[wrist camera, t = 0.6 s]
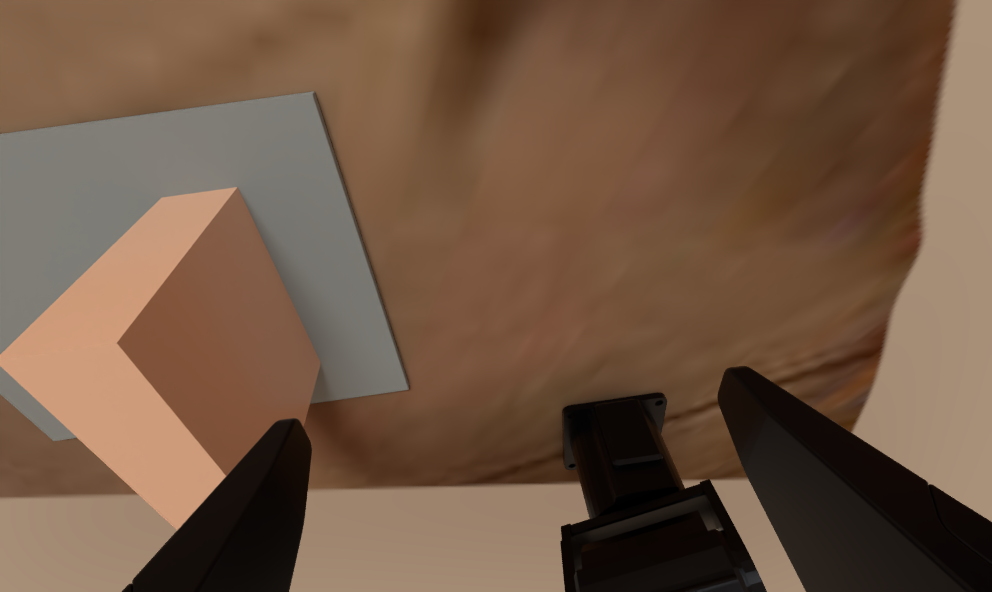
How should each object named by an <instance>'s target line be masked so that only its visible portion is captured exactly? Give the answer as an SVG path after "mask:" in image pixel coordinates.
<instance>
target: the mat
mask: <svg viewBox="0 0 992 592" xmlns="http://www.w3.org/2000/svg"><path fill="white" fill-rule="evenodd" d="M235 187H238V189H239V191H240V193H241V196H242V198H243V200H244V202H245V204H246V206H247V208H248V210H249V212H250V215H251V217H252V219H253V221H254V223H255V225H256V227H257V229H258V231H259V234H260V236H261V238H262V240H263V242H264V244H265V246H266V248H267V250H268V253H269V255H270V257H271V259H272V261H273V263H274V265H275V267H276V269H277V271H278V274H279V276H280V278H281V280H282V282H283V284H284V286H285V288H286V290H287V293H288V295H289V297H290V299H291V301H292V303H293V305H294V307H295V309H296V312H297V314H298V316H299V318H300V320H301V322H302V324H303V326H304V328H305V331H306V333H307V335H308V337H309V339H310V341H311V343H312V345H313V347H314V350H315V352H316V354H317V356H318V358H319V360H320V362H321V364H320V368H319V372H318V375H317V379H316V383H315V386H314V390H313V394H312V398H311V401H310V404H313V403H320V402H327V401H334V400H341V399H348V398H354V397H361V396H368V395H375V394H382V393H389V392H396V391H403V390H409V382H408V379H407V376H406V373H405V370H404V367H403V364H402V361H401V358H400V355H399V351H398V348H397V345H396V342H395V339H394V336H393V333H392V330H391V327H390V324H389V320H388V317H387V314H386V311H385V308H384V305H383V302H382V299H381V296H380V293H379V289H378V286H377V283H376V280H375V277H374V274H373V271H372V268H371V265H370V262H369V259H368V255H367V252H366V249H365V246H364V243H363V240H362V237H361V234H360V231H359V228H358V224H357V221H356V218H355V215H354V212H353V209H352V206H351V203H350V200H349V197H348V193H347V190H346V187H345V184H344V181H343V178H342V175H341V172H340V169H339V166H338V162H337V159H336V156H335V153H334V150H333V147H332V144H331V141H330V138H329V135H328V131H327V128H326V125H325V122H324V119H323V116H322V113H321V110H320V107H319V104H318V101H317V97H316V94H315V91H314V92H306V93H299V94H291V95H284V96H277V97H269V98H262V99H255V100H247V101H240V102H233V103H225V104H218V105H211V106H203V107H196V108H189V109H181V110H174V111H166V112H159V113H152V114H144V115H137V116H130V117H122V118H115V119H108V120H100V121H93V122H86V123H78V124H71V125H64V126H56V127H49V128H42V129H34V130H27V131H19V132H12V133H5V134H0V354H1V353H2V352H3V351H5V350H6V349H7V348H8V347H9V346H10V345H11V344H12V343H13V342H14V341H15V340H16V339H17V338H18V337H19V336H20V335H21V334H22V333H23V332H24V331H25V330H26V329H27V328H28V327H29V326H30V325H31V324H32V323H33V322H34V321H35V320H36V319H37V318H38V317H39V316H40V315H42V314H43V313H44V312H45V311H46V310H47V309H48V308H49V307H50V306H51V305H52V304H53V303H54V302H55V301H56V300H57V299H58V298H59V297H60V296H61V295H62V294H63V293H64V292H65V291H66V290H67V289H68V288H69V287H70V286H71V285H72V284H73V283H74V282H75V281H76V280H78V279H79V278H80V277H81V276H82V275H83V274H84V273H85V272H86V271H87V270H88V269H89V268H90V267H91V266H92V265H93V264H94V263H95V262H96V261H97V260H98V259H99V258H100V257H101V256H102V255H103V254H104V253H105V252H106V251H107V250H108V249H109V248H110V247H111V246H112V245H113V244H115V243H116V242H117V241H118V240H119V239H120V238H121V237H122V236H123V235H124V234H125V233H126V232H127V231H128V230H129V229H130V228H131V227H132V226H133V225H134V224H135V223H136V222H137V221H138V220H139V219H140V218H141V217H142V216H143V215H144V214H145V213H146V212H147V211H148V210H149V209H150V208H152V207H153V206H154V205H155V204H156V203H157V202H158V201H159V200H160V199H161V198H163V197H170V196H177V195H184V194H191V193H199V192H206V191H213V190H220V189H228V188H235ZM0 394H1V395H2V396H3V397H4V398H5V399H6V400H8V401H9V402H10V403H11V404H12V405H13V406H14V407H16V408H17V409H18V410H19V411H20V412H21V413H22V414H24V415H25V416H26V417H27V418H28V419H29V420H30V421H31V422H33V423H34V424H35V425H36V426H37V427H38V428H39V429H41V430H42V431H43V432H44V433H45V434H46V435H47V436H49V437H50V438H51V439H52V440H53V441H58V440H65V439H72V438H77V437H76V436H75V435H74V434H73V433H72V432H71V431H70V430H69V429H67V428H66V427H65V426H64V425H63V424H62V423H61V422H60V421H59V420H58V419H57V418H56V417H55V416H53V415H52V414H51V413H50V412H49V411H48V410H47V409H46V408H45V407H44V406H43V405H42V404H41V403H39V402H38V401H37V400H36V399H35V398H34V397H33V396H32V395H31V394H30V393H29V392H28V391H27V390H25V389H24V388H23V387H22V386H21V385H20V384H19V383H18V382H17V381H16V380H15V379H14V378H13V377H11V376H10V375H9V374H8V373H7V372H6V371H5V370H4V369H3V368H2V367H1V366H0Z"/></svg>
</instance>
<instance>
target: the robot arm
mask: <svg viewBox="0 0 992 592" xmlns="http://www.w3.org/2000/svg"><path fill="white" fill-rule="evenodd" d="M718 403H719V406H720V409H721V412H722V414H723V417H724V419H725V422H726V425H727V427H728V430H729V433H730V435H731V438H732V440H733V443H734V446H735V448H736V451H737V453H738V456H739V459H740V461H741V464H742V466H743V468H744V471H745V473H746V475H747V477H748V479H749V481H750V483H751V485H752V487H753V489H754V491H755V493H756V495H757V497H758V499H759V500H760V502H761V505H762V506H763V508H764V510H765V512H766V514H767V516H768V518H769V520H770V522H771V524H772V526H773V528H774V530H775V532H776V534H777V536H778V538H779V540H780V542H781V544H782V546H783V547H784V549H785V551H786V553H787V555H788V557H789V559H790V561H791V563H792V565H793V567H794V569H795V571H796V573H797V575H798V577H799V579H800V581H801V583H802V585H803V586H804V588H805V590H806V592H992V522H991V521H989V520H988V519H986V518H984V517H983V516H981V515H979V514H978V513H976V512H975V511H973V510H972V509H970V508H968V507H967V506H965V505H963V504H962V503H960V502H959V501H957V500H955V499H954V498H952V497H951V496H949V495H948V494H946V493H944V492H943V491H941V490H940V489H938V488H937V487H935V486H934V485H931V484H930V485H928V482H927V481H926V480H924V479H922V478H921V477H919V476H918V475H916V474H915V473H913V472H912V471H910V470H909V469H907V468H905V467H904V466H902V465H901V464H899V463H898V462H896V461H894V460H893V459H891V458H890V457H888V456H887V455H885V454H883V453H882V452H880V451H879V450H877V449H876V448H874V447H873V446H871V445H870V444H868V443H866V442H864V441H863V440H862V439H860V438H859V437H857V436H856V435H854V434H852V433H851V432H849V431H848V430H846V429H845V428H843V427H841V426H840V425H838V424H837V423H835V422H834V421H832V420H831V419H829V418H827V417H826V416H824V415H823V414H821V413H820V412H818V411H817V410H815V409H813V408H812V407H810V406H809V405H807V404H806V403H804V402H803V401H801V400H799V399H798V398H796V397H795V396H793V395H792V394H790V393H789V392H787V391H785V390H784V389H782V388H781V387H779V386H778V385H776V384H774V383H773V382H771V381H770V380H768V379H767V378H765V377H764V376H762V375H760V374H759V373H757V372H756V371H754V370H753V369H751V368H749V367H747V366H739V367H730V368H727V369H726V370H725V372H724V375H723V378H722V381H721V385H720V388H719V391H718ZM666 405H667V399H666V397H665V395H664V394H663V393H653V394H646V395H639V396H633V397H626V398H619V399H612V400H605V401H598V402H592V403H585V404H578V405H571V406H567V407H565V408H564V409H563V411H562V418H563V455H564V465H565V468H566V469H568V470H574V469H577V472H578V475H579V479H580V483H581V487H582V491H583V495H584V499H585V502H586V506H587V510H588V514H589V517H590V519H588V520H585V521H582V522H579V523H576V524H573V525H571V524H567V525H564V526H561V534H562V541H561V553H562V562H563V563H562V564H563V574H564V584H565V592H767V591H766V589H765V587H764V584H763V582H762V580H761V578H760V576H759V574H758V571H757V570H756V568H755V565H754V563H753V561H752V559H751V557H750V555H749V553H748V551H747V549H746V547H745V545H744V543H743V541H742V539H741V538H740V535H739V534H738V532H737V530H736V528H735V526H734V524H733V522H732V521H731V519H730V517H729V515H728V513H727V511H726V509H725V507H724V506H723V504H722V502H721V500H720V498H719V496H718V495H717V492H716V491H715V489H714V487H713V485H712V483H711V481H710V479H708V480H705V481H702V482H700V484H698V485H695V486H692V487H689V488H686V489H685V488H684V485H683V483H682V481H681V478H680V476H679V474H678V472H677V469H676V467H675V465H674V463H673V460H672V458H671V456H670V454H669V451H668V449H667V447H666V445H665V442H664V440H663V438H662V436H661V432H662V427H663V421H664V416H665V410H666ZM311 454H312V448H311V442H310V440H309V438H308V436H307V434H306V432H305V430H304V428H303V426H302V424H301V422H300V420H299V419H297V418H290V419H281V420H278V421H276V422H275V423H274V424H273V425H272V426H271V427H270V428H269V429H268V430H267V431H266V433H265V434H264V435H263V436H262V437H261V438H260V439H259V440H258V441H257V443H256V444H255V445H254V446H253V447H252V448H251V449H250V450H249V451H248V452H247V454H246V455H245V456H244V457H243V458H242V459H241V460H240V461H239V462H238V464H237V465H236V466H235V467H234V468H233V469H232V470H231V471H230V472H229V474H228V475H227V476H226V477H225V478H224V479H223V480H222V481H221V482H220V484H219V485H218V486H217V487H216V488H215V489H214V490H213V491H212V492H211V494H210V495H209V496H208V497H207V498H206V499H205V500H204V501H203V502H202V504H201V505H200V506H199V507H198V508H197V509H196V510H195V511H194V512H193V513H192V515H191V516H190V517H189V518H188V519H187V520H186V521H185V522H184V523H183V525H182V526H181V527H180V528H179V529H178V530H177V531H176V532H175V533H174V535H173V536H172V537H171V538H170V539H169V540H168V541H167V542H166V543H165V545H164V546H163V547H162V548H161V549H160V550H159V551H158V552H157V553H156V555H155V556H154V557H153V558H152V559H151V560H150V561H149V562H148V563H147V565H146V566H145V567H144V568H143V569H142V570H141V571H140V572H139V574H137V576H136V577H135V578H134V579H133V581H132V584H129V585H127V587H126V588H125V589H124V590H123V591H122V592H289V589H290V585H291V580H292V576H293V572H294V567H295V563H296V558H297V553H298V549H299V544H300V540H301V535H302V530H303V525H304V518H305V510H306V501H307V491H308V482H309V473H310V463H311ZM716 529H718V530H716Z"/></svg>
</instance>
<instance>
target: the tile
mask: <svg viewBox="0 0 992 592" xmlns="http://www.w3.org/2000/svg"><path fill="white" fill-rule="evenodd" d="M320 364H321V362H320V360H319V358H318V356H317V354H316V352H315V350H314V347H313V345H312V343H311V341H310V339H309V337H308V335H307V333H306V331H305V328H304V326H303V324H302V322H301V320H300V318H299V316H298V314H297V312H296V309H295V307H294V305H293V303H292V301H291V299H290V297H289V295H288V293H287V290H286V288H285V286H284V284H283V282H282V280H281V278H280V276H279V274H278V271H277V269H276V267H275V265H274V263H273V261H272V259H271V257H270V255H269V253H268V250H267V248H266V246H265V244H264V242H263V240H262V238H261V236H260V234H259V231H258V229H257V227H256V225H255V223H254V221H253V219H252V217H251V215H250V212H249V210H248V208H247V206H246V204H245V202H244V200H243V198H242V196H241V193H240V191H239V189H238V187H235V188H228V189H220V190H213V191H206V192H199V193H191V194H184V195H177V196H170V197H163V198H161V199H160V200H159V201H158V202H157V203H156V204H155V205H154V206H153V207H152V208H150V209H149V210H148V211H147V212H146V213H145V214H144V215H143V216H142V217H141V218H140V219H139V220H138V221H137V222H136V223H135V224H134V225H133V226H132V227H131V228H130V229H129V230H128V231H127V232H126V233H125V234H124V235H123V236H122V237H121V238H120V239H119V240H118V241H117V242H116V243H115V244H113V245H112V246H111V247H110V248H109V249H108V250H107V251H106V252H105V253H104V254H103V255H102V256H101V257H100V258H99V259H98V260H97V261H96V262H95V263H94V264H93V265H92V266H91V267H90V268H89V269H88V270H87V271H86V272H85V273H84V274H83V275H82V276H81V277H80V278H79V279H78V280H76V281H75V282H74V283H73V284H72V285H71V286H70V287H69V288H68V289H67V290H66V291H65V292H64V293H63V294H62V295H61V296H60V297H59V298H58V299H57V300H56V301H55V302H54V303H53V304H52V305H51V306H50V307H49V308H48V309H47V310H46V311H45V312H44V313H43V314H42V315H40V316H39V317H38V318H37V319H36V320H35V321H34V322H33V323H32V324H31V325H30V326H29V327H28V328H27V329H26V330H25V331H24V332H23V333H22V334H21V335H20V336H19V337H18V338H17V339H16V340H15V341H14V342H13V343H12V344H11V345H10V346H9V347H8V348H7V349H6V350H5V351H3V352H2V353H1V354H0V366H1V367H2V368H3V369H4V370H5V371H6V372H7V373H8V374H9V375H10V376H11V377H13V378H14V379H15V380H16V381H17V382H18V383H19V384H20V385H21V386H22V387H23V388H24V389H25V390H27V391H28V392H29V393H30V394H31V395H32V396H33V397H34V398H35V399H36V400H37V401H38V402H39V403H41V404H42V405H43V406H44V407H45V408H46V409H47V410H48V411H49V412H50V413H51V414H52V415H53V416H55V417H56V418H57V419H58V420H59V421H60V422H61V423H62V424H63V425H64V426H65V427H66V428H67V429H69V430H70V431H71V432H72V433H73V434H74V435H75V436H76V437H77V438H78V439H79V440H80V441H82V442H83V443H84V444H85V445H86V446H87V447H88V448H89V449H90V450H91V451H92V452H93V453H94V454H96V455H97V456H98V457H99V458H100V459H101V460H102V461H103V462H104V463H105V464H106V465H107V466H108V467H110V468H111V469H112V470H113V471H114V472H115V473H116V474H117V475H118V476H119V477H120V478H121V479H122V480H124V481H125V482H126V483H127V484H128V485H129V486H130V487H131V488H132V489H133V490H134V491H135V492H136V493H138V494H139V495H140V496H141V497H142V498H143V499H144V500H145V501H146V502H147V503H148V504H149V505H150V506H152V507H153V508H154V509H155V510H156V511H157V512H158V513H159V514H160V515H161V516H162V517H163V518H164V519H166V520H167V521H168V522H169V523H170V524H171V525H172V526H173V527H174V528H175V529H176V530H178V529H179V528H180V527H181V526H182V525H183V523H184V522H185V521H186V520H187V519H188V518H189V517H190V516H191V515H192V513H193V512H194V511H195V510H196V509H197V508H198V507H199V506H200V505H201V504H202V502H203V501H204V500H205V499H206V498H207V497H208V496H209V495H210V494H211V492H212V491H213V490H214V489H215V488H216V487H217V486H218V485H219V484H220V482H221V481H222V480H223V479H224V478H225V477H226V476H227V475H228V474H229V472H230V471H231V470H232V469H233V468H234V467H235V466H236V465H237V464H238V462H239V461H240V460H241V459H242V458H243V457H244V456H245V455H246V454H247V452H248V451H249V450H250V449H251V448H252V447H253V446H254V445H255V444H256V443H257V441H258V440H259V439H260V438H261V437H262V436H263V435H264V434H265V433H266V431H267V430H268V429H269V428H270V427H271V426H272V425H273V424H274V423H275V422H276V421H278V420H281V419H290V418H297V419H299V420H300V422H301V424H302V426H303V427H304V424H305V420H306V416H307V413H308V409H309V405H310V401H311V398H312V394H313V390H314V386H315V383H316V379H317V375H318V372H319V368H320Z"/></svg>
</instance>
